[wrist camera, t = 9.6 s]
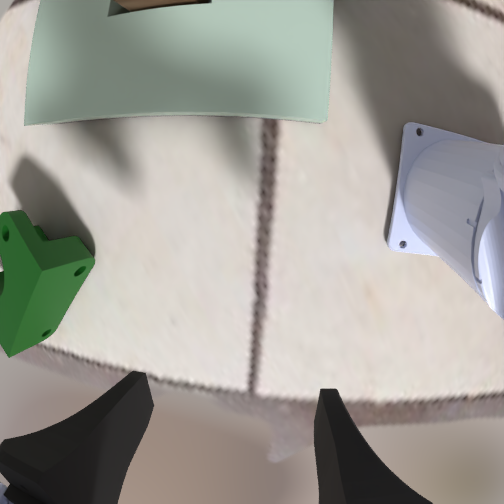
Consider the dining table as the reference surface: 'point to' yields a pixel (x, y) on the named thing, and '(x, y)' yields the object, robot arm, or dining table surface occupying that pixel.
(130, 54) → the well block
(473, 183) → the robot arm
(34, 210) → the dining table surface
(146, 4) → the post
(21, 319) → the clamp
